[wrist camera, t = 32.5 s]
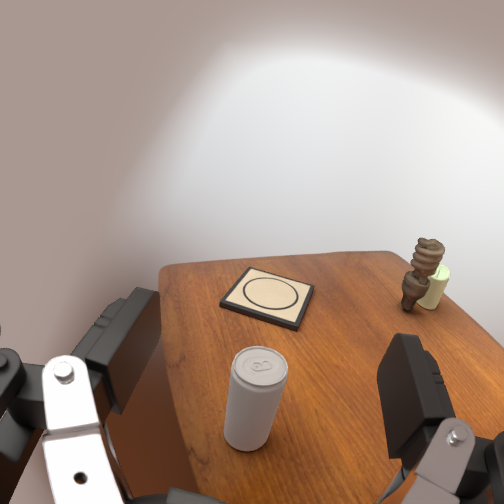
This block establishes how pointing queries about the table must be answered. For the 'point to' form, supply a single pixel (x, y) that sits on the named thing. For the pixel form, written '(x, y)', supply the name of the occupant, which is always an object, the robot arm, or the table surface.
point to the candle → (435, 288)
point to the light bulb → (421, 271)
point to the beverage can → (254, 396)
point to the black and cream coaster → (269, 298)
